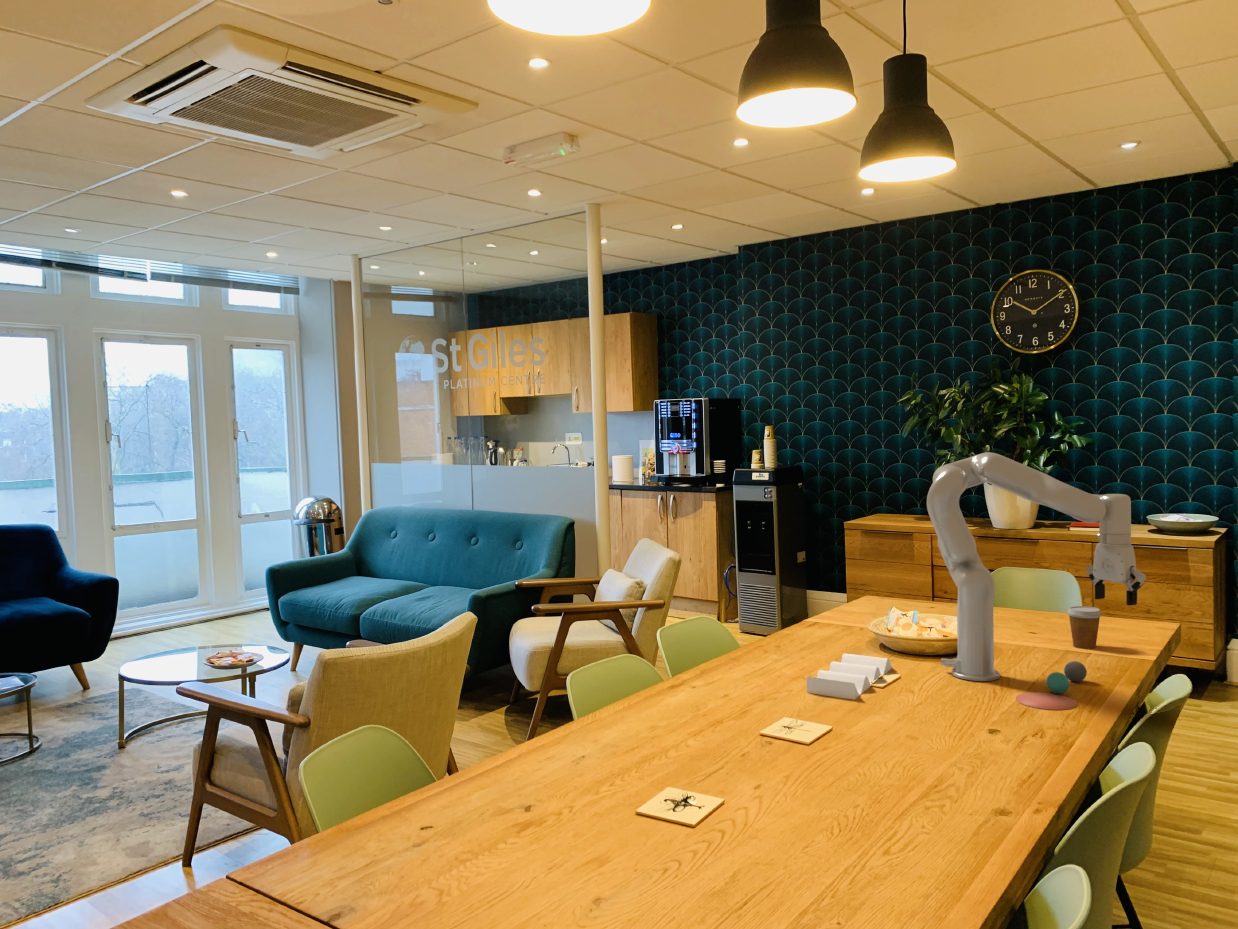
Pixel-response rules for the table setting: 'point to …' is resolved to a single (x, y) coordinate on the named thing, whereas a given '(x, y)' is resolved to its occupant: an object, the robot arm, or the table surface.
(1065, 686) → the object ball
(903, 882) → the table surface
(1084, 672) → the gray ball
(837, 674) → the white taco holder
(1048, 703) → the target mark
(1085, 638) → the disposable coffee cup
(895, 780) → the table surface
